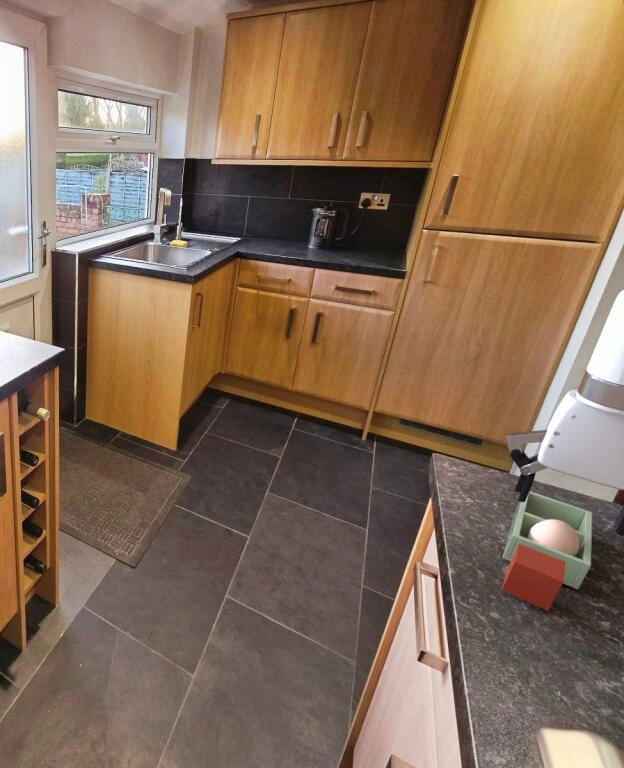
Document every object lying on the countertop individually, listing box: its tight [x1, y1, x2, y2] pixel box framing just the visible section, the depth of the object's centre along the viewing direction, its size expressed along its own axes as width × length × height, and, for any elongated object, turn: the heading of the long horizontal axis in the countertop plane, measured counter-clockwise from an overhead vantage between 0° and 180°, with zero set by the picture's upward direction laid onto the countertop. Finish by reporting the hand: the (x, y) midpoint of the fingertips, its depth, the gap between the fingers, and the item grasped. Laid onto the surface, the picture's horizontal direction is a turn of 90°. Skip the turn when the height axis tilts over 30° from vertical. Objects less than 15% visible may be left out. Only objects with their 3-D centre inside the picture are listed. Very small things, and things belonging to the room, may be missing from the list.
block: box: [501, 544, 565, 612], centre depth 61 cm, size 5×5×5 cm
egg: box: [528, 519, 580, 556], centre depth 66 cm, size 5×5×6 cm
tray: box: [502, 490, 593, 590], centre depth 69 cm, size 8×15×4 cm, turn 137°
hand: (568, 512), depth 65 cm, fingers open, 9 cm apart
